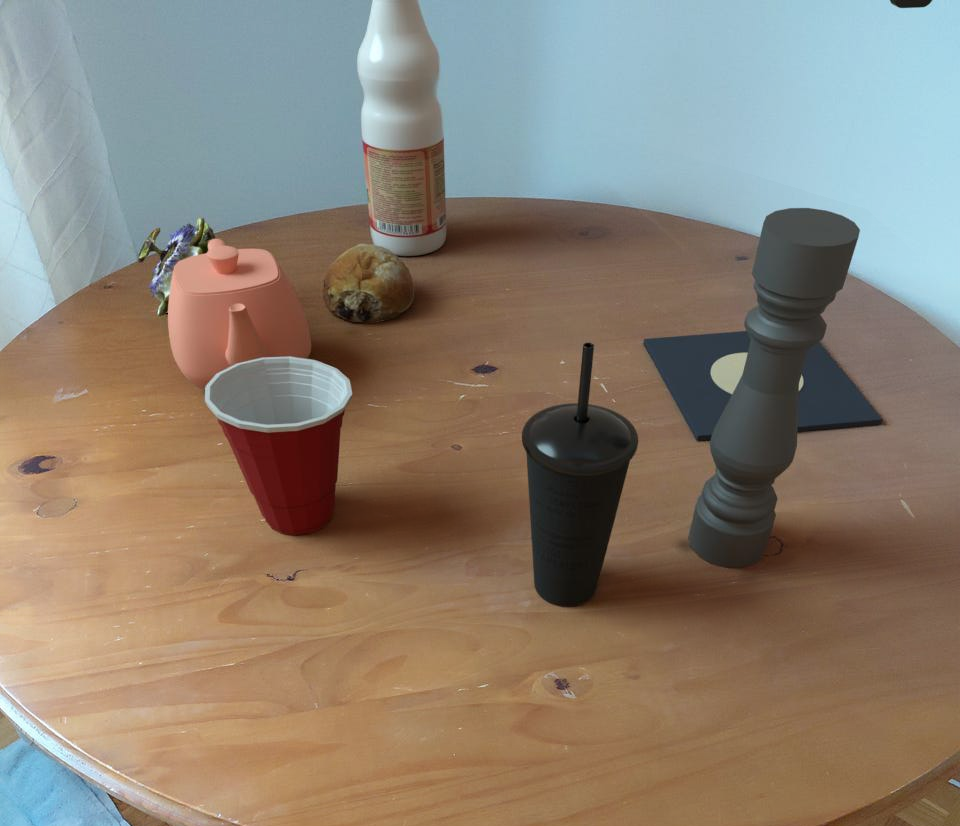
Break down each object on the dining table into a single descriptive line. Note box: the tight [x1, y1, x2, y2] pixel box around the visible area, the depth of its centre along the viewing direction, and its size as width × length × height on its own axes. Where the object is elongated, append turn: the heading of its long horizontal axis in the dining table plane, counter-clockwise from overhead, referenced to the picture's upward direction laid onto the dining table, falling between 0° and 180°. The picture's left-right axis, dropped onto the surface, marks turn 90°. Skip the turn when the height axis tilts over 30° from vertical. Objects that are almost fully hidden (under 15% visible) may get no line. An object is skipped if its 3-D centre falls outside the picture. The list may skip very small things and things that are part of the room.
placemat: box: [643, 330, 884, 442], centre depth 88 cm, size 18×18×1 cm
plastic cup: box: [204, 357, 353, 536], centre depth 70 cm, size 11×11×12 cm
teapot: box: [167, 238, 312, 390], centre depth 85 cm, size 13×20×12 cm, turn 19°
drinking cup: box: [521, 342, 639, 607], centre depth 61 cm, size 8×8×20 cm
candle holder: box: [687, 207, 861, 569], centre depth 63 cm, size 6×6×25 cm
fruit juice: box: [356, 0, 447, 257], centre depth 101 cm, size 9×9×28 cm
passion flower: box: [137, 217, 217, 317], centre depth 96 cm, size 11×11×12 cm
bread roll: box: [322, 243, 415, 324], centre depth 98 cm, size 10×10×8 cm
